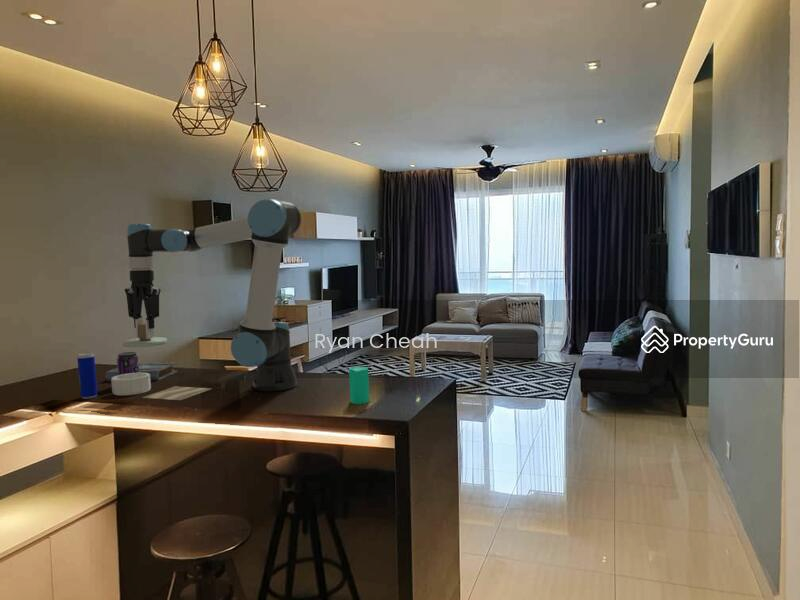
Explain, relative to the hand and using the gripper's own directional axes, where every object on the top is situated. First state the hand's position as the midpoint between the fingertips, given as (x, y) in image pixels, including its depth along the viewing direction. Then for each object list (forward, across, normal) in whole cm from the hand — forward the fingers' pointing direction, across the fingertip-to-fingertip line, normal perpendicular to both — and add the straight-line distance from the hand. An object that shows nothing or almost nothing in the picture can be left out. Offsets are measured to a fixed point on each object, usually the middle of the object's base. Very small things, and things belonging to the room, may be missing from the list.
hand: (145, 337), depth 205 cm
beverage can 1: (+20, +18, +8) cm, 28 cm away
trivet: (+19, -12, -1) cm, 23 cm away
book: (+21, +24, -24) cm, 40 cm away
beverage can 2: (+20, +18, -10) cm, 29 cm away
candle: (+18, -77, -6) cm, 79 cm away
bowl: (+20, +7, 0) cm, 21 cm away
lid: (+2, 0, 0) cm, 2 cm away
